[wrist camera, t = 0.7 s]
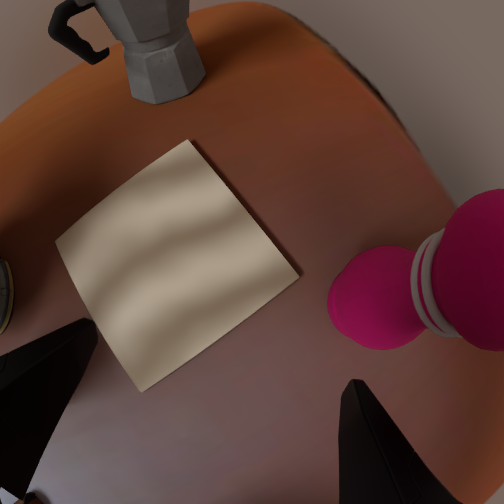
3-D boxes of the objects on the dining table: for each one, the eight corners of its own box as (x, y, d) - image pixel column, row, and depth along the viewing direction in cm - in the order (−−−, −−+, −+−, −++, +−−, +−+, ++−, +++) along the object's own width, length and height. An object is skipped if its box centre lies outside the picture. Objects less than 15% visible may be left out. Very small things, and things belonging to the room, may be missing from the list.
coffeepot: (192, 38, 31) (174, -77, 13) (237, 69, 29) (233, -72, 11) (89, 101, 28) (24, -8, 11) (119, 144, 27) (36, 8, 9)
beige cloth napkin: (297, 279, 24) (299, 277, 23) (145, 389, 22) (141, 392, 21) (189, 146, 27) (187, 139, 26) (61, 244, 25) (54, 241, 24)
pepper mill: (350, 362, 22) (565, 427, 3) (304, 290, 24) (485, 178, 4) (412, 312, 23) (619, 274, 4) (370, 244, 25) (549, 107, 5)
